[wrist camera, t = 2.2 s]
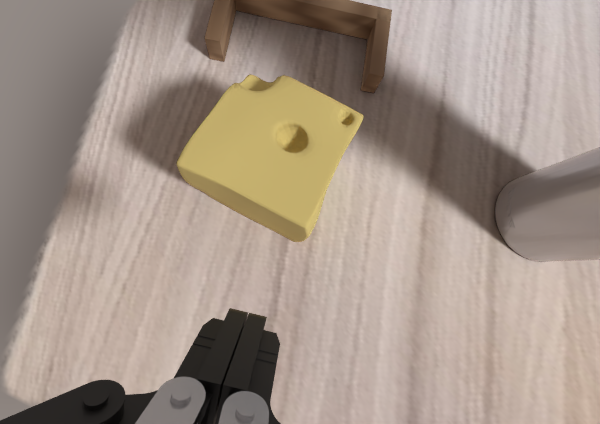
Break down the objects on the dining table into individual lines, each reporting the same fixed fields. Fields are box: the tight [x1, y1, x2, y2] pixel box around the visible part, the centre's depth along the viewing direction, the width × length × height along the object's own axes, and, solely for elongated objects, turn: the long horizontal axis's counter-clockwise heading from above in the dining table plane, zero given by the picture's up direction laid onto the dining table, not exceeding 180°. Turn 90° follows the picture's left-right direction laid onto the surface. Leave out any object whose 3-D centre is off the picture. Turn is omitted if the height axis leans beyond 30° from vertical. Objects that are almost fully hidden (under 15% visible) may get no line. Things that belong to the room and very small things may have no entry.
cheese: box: [176, 75, 363, 242], centre depth 27 cm, size 10×11×10 cm
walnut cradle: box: [205, 0, 392, 93], centre depth 33 cm, size 18×8×3 cm, turn 81°
